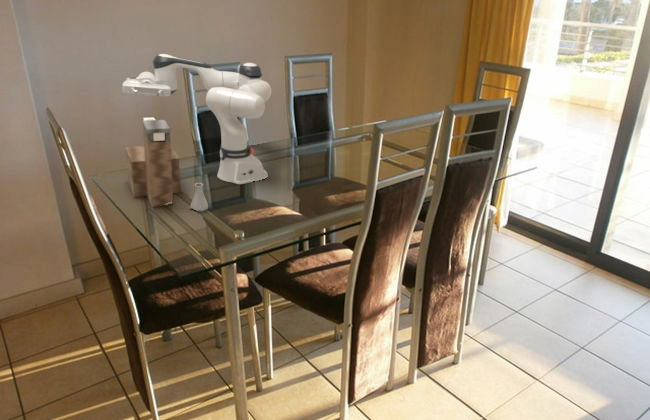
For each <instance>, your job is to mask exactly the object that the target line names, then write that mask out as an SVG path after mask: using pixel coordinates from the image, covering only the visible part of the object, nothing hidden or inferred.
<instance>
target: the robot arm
mask: <svg viewBox="0 0 650 420" xmlns="http://www.w3.org/2000/svg"><path fill="white" fill-rule="evenodd" d="M152 63H153V65H152V66H153V69H154V73H152V72H150V71H143V72H141V73H139V75H138V76H137V77H126V80H125V81H123V83H122V85H121V87H122V88H121V89H122V93H123V94H130V95H131V94H132V95H140V96H142V97H146V98H149V97H153V96H156V97H170V96H171V95H173V94H174V93H176V92H177V90H178V80H177V68H182V69H188V70H192V71H195V72H196V73H197V74H198V75H199V77H200V79H201V82H202V84H203V87H204V88H205V89H206V90H207V93H206V95H205V102H206V106H207V108H208V109H209V110H210V111H211V113H213V114H214V116H215V117H216V120H217V121H218V125H219V128H220V136H221V137H220V139H221V144H220V145H219V146H220V149H219V157H220V162H219V168H218V171H217V175H216V176H217V178H218V179H219V180H221V181H224V182H227V183H233V184H236V185H243V184H249V183H250V184H251V183H254V182H253V181H255V182H259V180H260V181H263V180H262V179H265V178H267V177H268V178H269V175H268V174H269V173H268V171H266V170H265V168H264V167H263V166H264V165H263V162H261V161H260V159H259V158H258V157H256V156H255V155H254V154H255V152H256V151H255V150H254V149H253V148H252V147H251V146H250V145H248V130H247V127H246V126H245V125H244V124H243V123H242V122H241V121H240V120H239V119H238V118H240V119H241V118H242V119H245V120H246V119H247V120H250V119H251V120H252V119H253V120H257V119H260V118H262V116H263V115H264V112H265V109H266V104H265V103H266V102H267V101H268V100H269V99H270V98H271V95H272V92H273V91H272V87H271V85H270V84H269V82H267V81H266V80H262V76H263V74H262V69H261V67H260V66H259V65H258V64H256V63H254V62H244V63H243V64H241V65H240V66H239V68H238V72H235V71H226V70H217V69H214V68H213V67H212V65H210V64H209V63H206V62H203V61H198V60H193V59H189V58H188V59H187V58H183V57H179V56H174V55H170V54H167V53H160V54H158V53H157V55H156V56H155V57H154V58H153V60H152ZM268 178H267V179H268ZM265 180H266V179H265Z"/></svg>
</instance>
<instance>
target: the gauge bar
mask: <svg viewBox="0 0 650 420" xmlns="http://www.w3.org/2000/svg"><path fill="white" fill-rule="evenodd" d="M149 120H156V119H155V117H143V120H142V122H143V121H149ZM152 135H153V141H163V140H165V133H152Z"/></svg>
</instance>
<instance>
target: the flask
mask: <svg viewBox="0 0 650 420" xmlns="http://www.w3.org/2000/svg"><path fill="white" fill-rule="evenodd" d="M194 187H195V191H194V195H193V197H192V200H191V202H190V206H189V209H190V208H193V209H194V210H196V211H195V212H204V211H206V210H208V209H209V203H208V202H207V201H208V200H207V199H206V196H205V194H204V190H203V187H204V184H203V183H201V182H196V183H194ZM194 210H193V211H194Z"/></svg>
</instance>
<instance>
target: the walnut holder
mask: <svg viewBox="0 0 650 420" xmlns="http://www.w3.org/2000/svg"><path fill="white" fill-rule="evenodd" d="M142 128H143V136H142V137H143V146H141V145H140V146H125V156H126V171H127V182H128V184H129V187H130V190H131V192H132V196H133V198H140V197H147V199H148V201H149V203H150V206H151V208H153V207H155V208H156V207H163V205H164V204H166V203H168V202H171V201H173V200H174V196H173V194H179V193H181V179H180V177H181V176H180V175H181V174H180V173H181V172H180V168H181V167H180V157H179V155H178V154H177V153H176V151H175V149H174V147H173V146H172V143H171V127H170V126H169V125H168V123H167V121H166V120H165V119H155V120H149V121H143V120H142ZM152 133H165V140H163V141H153V135H152Z"/></svg>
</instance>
